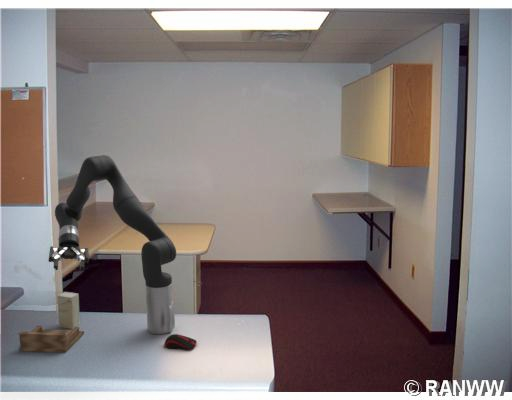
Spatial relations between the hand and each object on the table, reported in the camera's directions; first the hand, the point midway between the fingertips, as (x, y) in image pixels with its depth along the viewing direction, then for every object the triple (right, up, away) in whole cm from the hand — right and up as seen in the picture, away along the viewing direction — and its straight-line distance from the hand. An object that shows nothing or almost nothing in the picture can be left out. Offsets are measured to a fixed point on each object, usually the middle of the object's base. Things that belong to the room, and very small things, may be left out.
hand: (69, 268), depth 184 cm
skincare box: (0, -21, -1) cm, 21 cm away
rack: (-1, -23, -13) cm, 27 cm away
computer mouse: (+43, -24, -16) cm, 52 cm away
